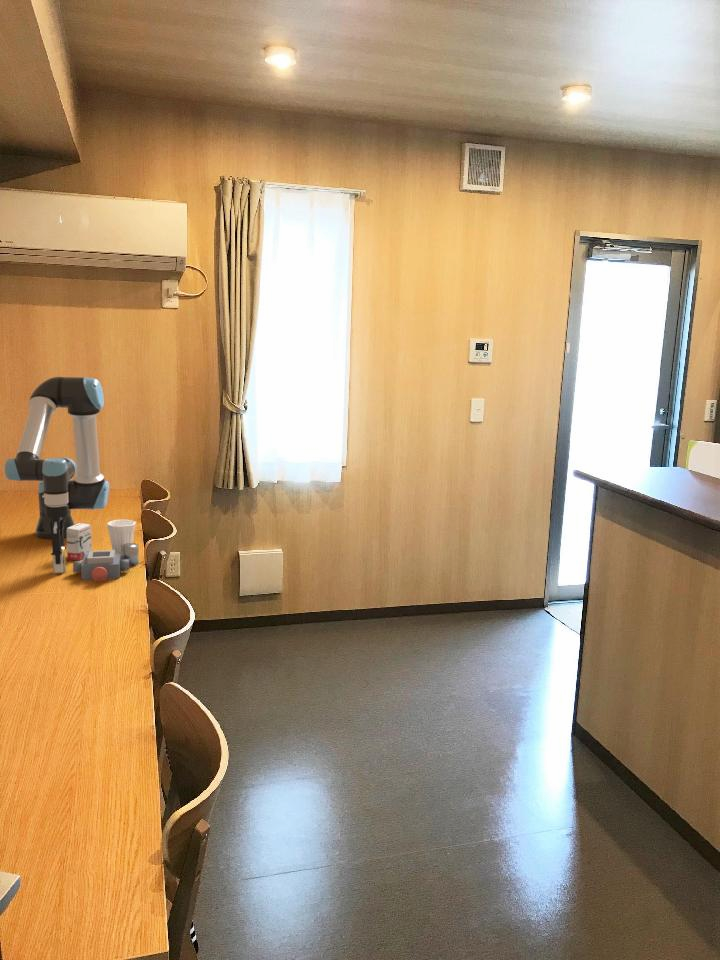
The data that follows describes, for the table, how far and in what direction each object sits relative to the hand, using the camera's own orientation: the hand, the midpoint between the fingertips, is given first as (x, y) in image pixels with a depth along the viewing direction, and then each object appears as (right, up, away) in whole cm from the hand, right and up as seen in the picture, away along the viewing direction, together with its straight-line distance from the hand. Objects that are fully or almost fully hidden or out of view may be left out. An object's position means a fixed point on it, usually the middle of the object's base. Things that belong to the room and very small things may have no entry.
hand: (59, 570), depth 244 cm
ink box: (0, +2, +17) cm, 17 cm away
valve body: (+15, -2, -1) cm, 15 cm away
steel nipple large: (+20, +1, +12) cm, 24 cm away
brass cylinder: (0, -1, 0) cm, 1 cm away
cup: (+15, +2, +20) cm, 25 cm away
